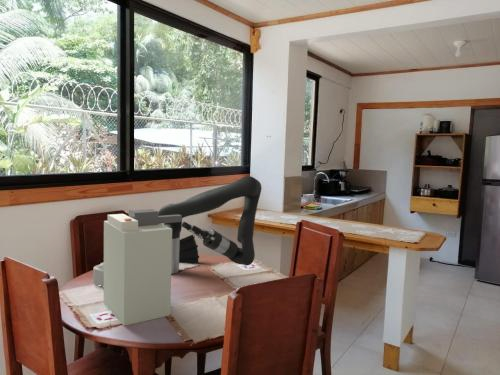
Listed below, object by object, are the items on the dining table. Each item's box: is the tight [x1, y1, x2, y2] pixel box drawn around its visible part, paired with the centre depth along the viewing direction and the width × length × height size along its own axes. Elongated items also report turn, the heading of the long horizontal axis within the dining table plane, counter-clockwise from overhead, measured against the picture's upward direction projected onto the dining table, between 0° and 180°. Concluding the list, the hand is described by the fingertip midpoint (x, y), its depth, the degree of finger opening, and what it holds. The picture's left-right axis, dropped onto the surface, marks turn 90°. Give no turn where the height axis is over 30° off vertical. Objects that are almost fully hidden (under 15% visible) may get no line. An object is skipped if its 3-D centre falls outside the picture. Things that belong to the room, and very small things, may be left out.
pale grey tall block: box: [103, 213, 172, 327], centre depth 146 cm, size 24×17×36 cm
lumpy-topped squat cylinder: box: [92, 261, 104, 286], centre depth 174 cm, size 10×13×9 cm
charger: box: [128, 208, 183, 226], centre depth 149 cm, size 6×20×5 cm, turn 126°
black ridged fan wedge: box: [179, 234, 200, 265], centre depth 209 cm, size 4×13×15 cm, turn 82°
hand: (187, 225), depth 157 cm, fingers open, 8 cm apart
